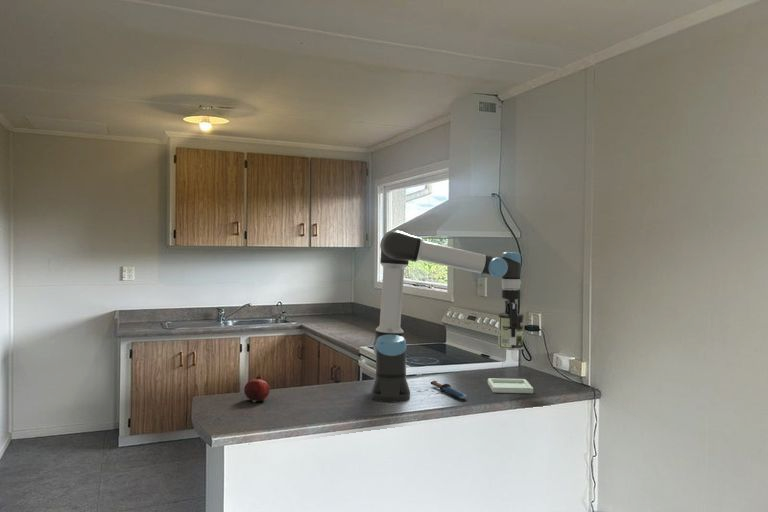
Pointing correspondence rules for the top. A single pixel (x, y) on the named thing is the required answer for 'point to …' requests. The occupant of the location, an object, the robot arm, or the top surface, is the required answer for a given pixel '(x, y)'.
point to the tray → (510, 385)
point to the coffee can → (504, 332)
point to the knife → (448, 389)
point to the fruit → (256, 389)
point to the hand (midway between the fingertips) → (510, 342)
